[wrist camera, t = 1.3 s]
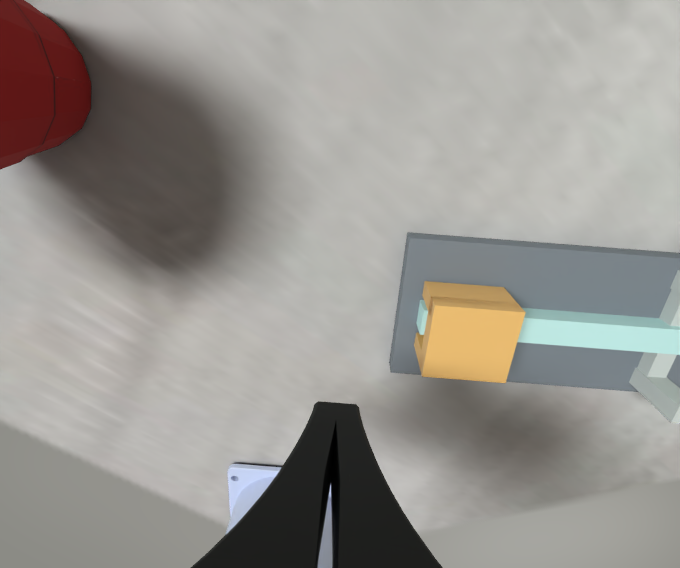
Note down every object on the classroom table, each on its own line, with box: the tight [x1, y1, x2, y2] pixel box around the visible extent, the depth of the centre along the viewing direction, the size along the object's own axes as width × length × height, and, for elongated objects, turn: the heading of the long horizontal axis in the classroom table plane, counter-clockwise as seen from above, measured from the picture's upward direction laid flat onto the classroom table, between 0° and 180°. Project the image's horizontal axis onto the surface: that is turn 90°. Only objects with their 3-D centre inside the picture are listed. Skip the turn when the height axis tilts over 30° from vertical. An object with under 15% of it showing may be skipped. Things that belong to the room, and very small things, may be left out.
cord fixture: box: [389, 233, 680, 424], centre depth 20 cm, size 8×20×4 cm, turn 86°
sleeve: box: [414, 281, 526, 383], centre depth 19 cm, size 4×4×3 cm
